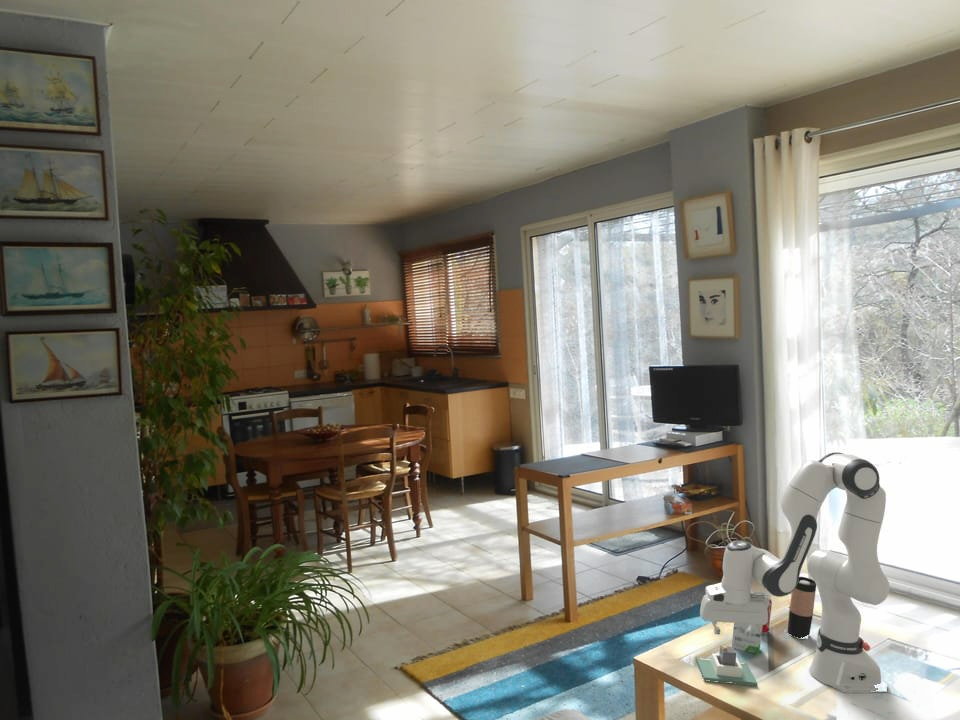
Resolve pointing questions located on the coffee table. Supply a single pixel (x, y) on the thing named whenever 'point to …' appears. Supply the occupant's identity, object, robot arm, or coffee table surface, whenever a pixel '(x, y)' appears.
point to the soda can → (766, 627)
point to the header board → (725, 671)
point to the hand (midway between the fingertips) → (732, 634)
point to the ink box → (747, 638)
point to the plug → (727, 655)
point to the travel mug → (802, 608)
